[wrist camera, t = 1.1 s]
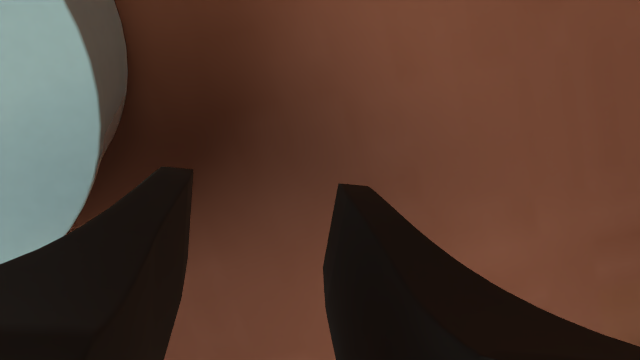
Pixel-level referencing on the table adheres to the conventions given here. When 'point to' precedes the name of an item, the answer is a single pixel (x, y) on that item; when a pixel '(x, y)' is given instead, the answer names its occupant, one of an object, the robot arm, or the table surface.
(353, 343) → the robot arm
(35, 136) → the pot
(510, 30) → the table surface
